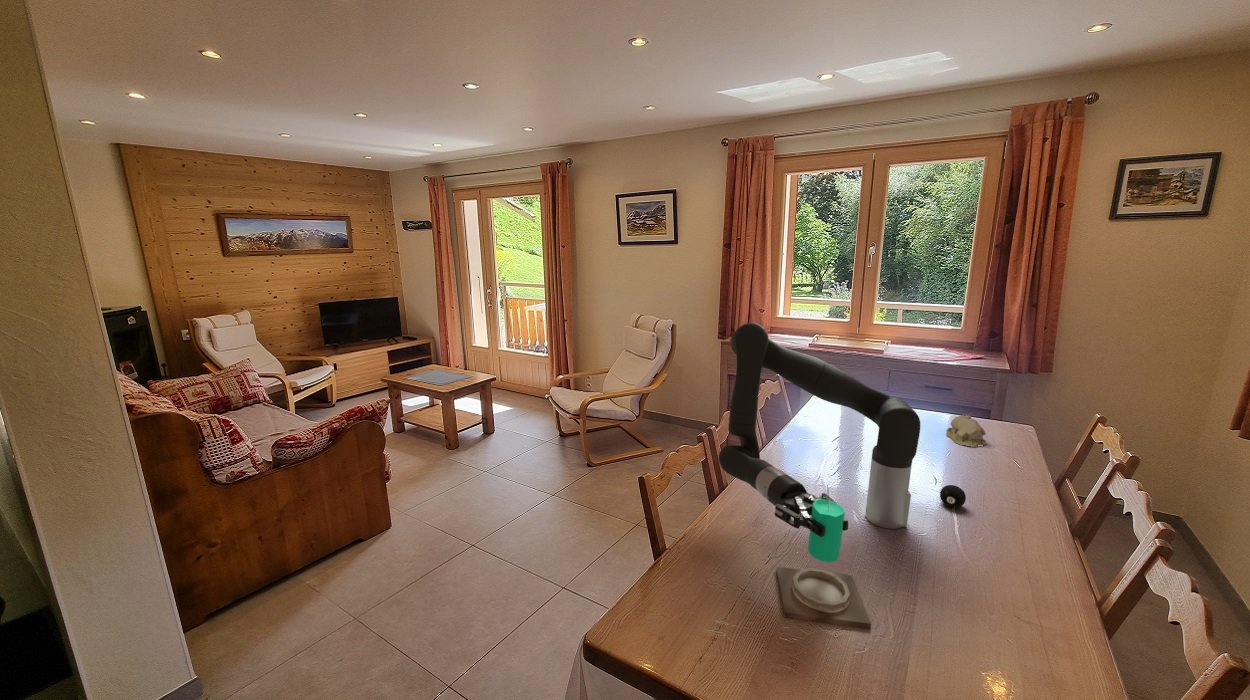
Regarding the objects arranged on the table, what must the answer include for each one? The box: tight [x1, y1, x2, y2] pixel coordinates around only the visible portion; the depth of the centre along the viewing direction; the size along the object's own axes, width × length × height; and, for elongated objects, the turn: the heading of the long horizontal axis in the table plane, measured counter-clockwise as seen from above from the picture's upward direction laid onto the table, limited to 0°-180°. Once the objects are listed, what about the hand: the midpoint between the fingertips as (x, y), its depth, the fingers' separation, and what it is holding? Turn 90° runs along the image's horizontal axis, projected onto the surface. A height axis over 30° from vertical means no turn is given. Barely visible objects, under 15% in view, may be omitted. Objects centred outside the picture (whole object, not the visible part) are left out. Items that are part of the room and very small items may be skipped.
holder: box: [775, 566, 872, 630], centre depth 100 cm, size 16×14×3 cm
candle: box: [807, 499, 846, 563], centre depth 97 cm, size 6×6×12 cm
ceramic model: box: [945, 414, 987, 448], centre depth 179 cm, size 14×11×10 cm
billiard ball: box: [939, 484, 967, 508], centre depth 135 cm, size 6×6×6 cm
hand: (835, 529), depth 94 cm, fingers closed on candle, 5 cm apart
